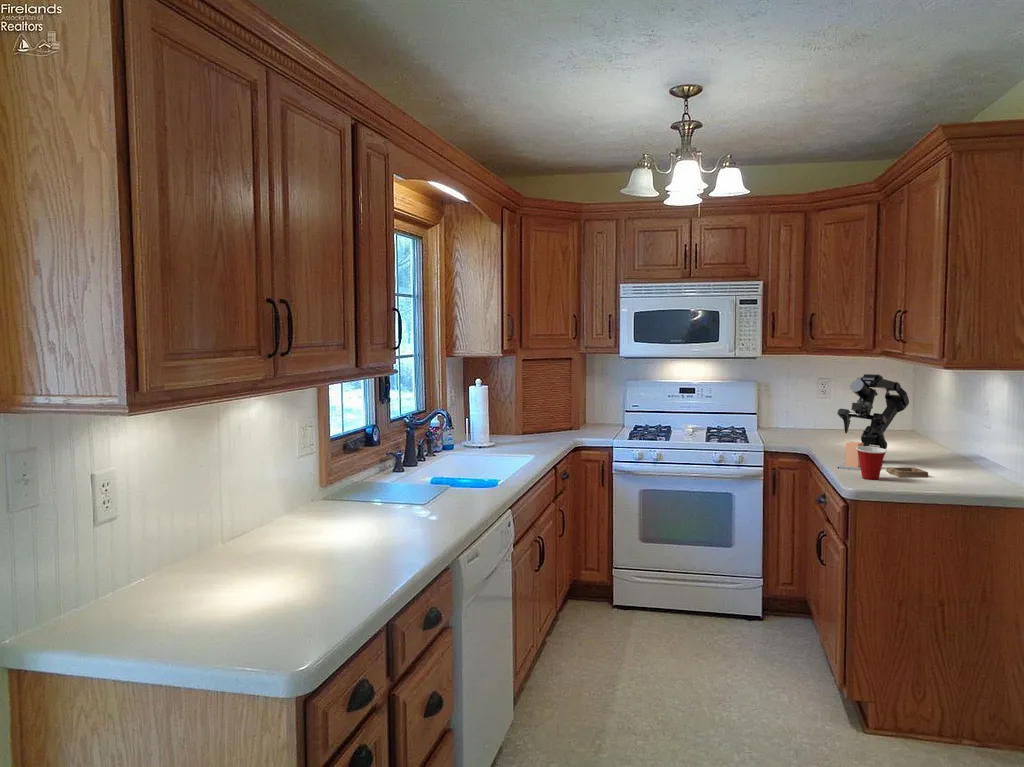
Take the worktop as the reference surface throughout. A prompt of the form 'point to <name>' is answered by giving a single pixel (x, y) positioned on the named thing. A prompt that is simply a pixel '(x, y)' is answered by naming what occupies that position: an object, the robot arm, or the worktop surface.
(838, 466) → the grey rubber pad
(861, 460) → the plastic cup
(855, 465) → the terracotta block
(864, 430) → the robot arm
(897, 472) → the walnut well board
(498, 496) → the worktop surface
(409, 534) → the worktop surface
